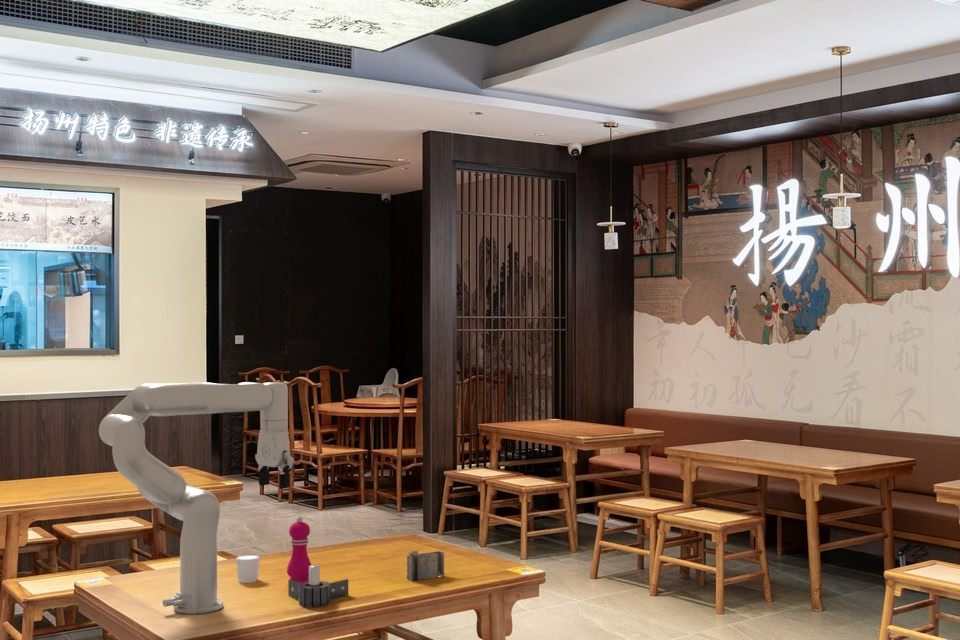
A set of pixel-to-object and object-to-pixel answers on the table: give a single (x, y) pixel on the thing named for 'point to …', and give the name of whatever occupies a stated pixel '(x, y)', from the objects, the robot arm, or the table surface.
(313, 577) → the hinge pin
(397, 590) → the table surface
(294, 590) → the hinge
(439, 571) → the rusty metal bracket
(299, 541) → the pepper mill
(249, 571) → the white cup
